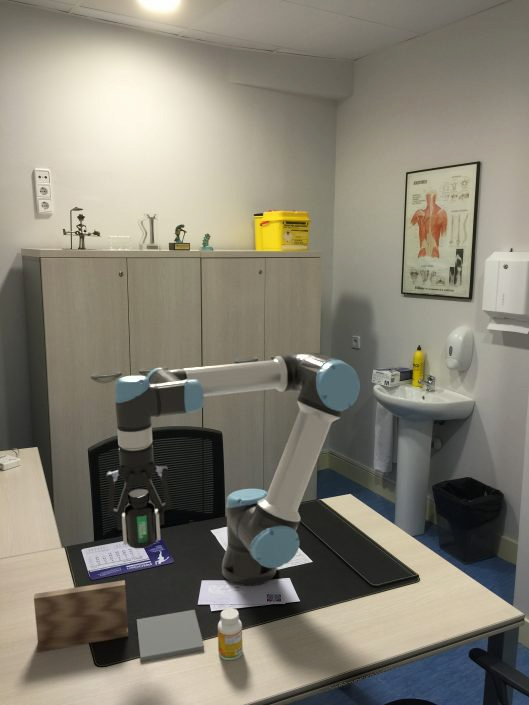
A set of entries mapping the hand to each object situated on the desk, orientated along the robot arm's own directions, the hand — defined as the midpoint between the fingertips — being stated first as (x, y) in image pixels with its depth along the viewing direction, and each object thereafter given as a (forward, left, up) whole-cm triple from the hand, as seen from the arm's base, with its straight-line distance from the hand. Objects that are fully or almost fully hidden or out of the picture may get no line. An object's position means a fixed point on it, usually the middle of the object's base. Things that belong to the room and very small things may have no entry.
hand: (142, 539), depth 140 cm
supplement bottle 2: (-21, +8, -23) cm, 32 cm away
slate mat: (-6, +3, -23) cm, 24 cm away
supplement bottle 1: (0, 0, -1) cm, 1 cm away
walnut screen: (+14, +4, -23) cm, 27 cm away
